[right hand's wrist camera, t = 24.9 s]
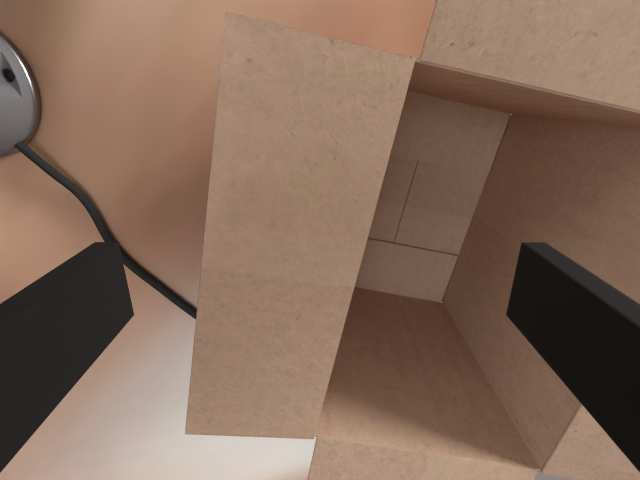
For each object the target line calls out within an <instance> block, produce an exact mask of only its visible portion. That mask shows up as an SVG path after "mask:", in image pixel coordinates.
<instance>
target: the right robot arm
mask: <svg viewBox="0 0 640 480" xmlns="http://www.w3.org/2000/svg"><path fill="white" fill-rule="evenodd" d="M40 117H41V98H40V93H39V88H38V85H37V82H36V79H35V77H34V74H33V72H32V70H31V68H30V66H29V65H28V63H27V61H26V60H25V58H24V57H23V55H22V54H21V52H20V51H19V50H18V49H17V47H16V46H15V45H14V44H13V43H12V42H11V41H10V40H9V39H8V38H7V37H6V36H5V35H3V34H2V33H1V32H0V157H3V156H7V155H11V154H13V153H16V152H18V151H21V152H22V153H23V154H24V155H25V156H27V157H28V158H29V159H30V160H31V161H33V162H34V163H35V164H36V165H37V166H39V167H40V168H41V169H42V170H43V171H45V172H46V173H47V174H48V175H50V176H51V177H52V178H53V179H55V180H56V181H57V182H59V183H60V184H62V185H63V186H64V187H66V188H67V189H68V190H69V191H71V192H72V193H73V194H74V195H75V196H76V197H77V198H78V199H79V201H80V202H81V203H82V204H83V205H84V207H85V208H86V210H87V211H88V213H89V214H90V216H91V218H92V219H93V221H94V223H95V225H96V227H97V229H98V231H99V233H100V234H101V236H102V238H103V240H104V241H105V242H95V243H93V244H92V245H90V246H89V247H87V248H86V249H84V250H82V251H81V252H79V253H78V254H76V255H75V256H73V257H72V258H70V259H69V260H67V261H66V262H64V263H63V264H61V265H59V266H58V267H56V268H55V269H53V270H52V271H50V272H49V273H47V274H46V275H44V276H43V277H41V278H40V279H38V280H36V281H35V282H33V283H32V284H30V285H29V286H27V287H26V288H24V289H23V290H21V291H20V292H18V293H17V294H15V295H13V296H12V297H10V298H9V299H7V300H6V301H4V302H3V303H1V304H0V472H1V471H2V470H3V469H4V468H5V466H6V465H7V464H8V463H9V462H10V461H11V459H12V458H13V457H14V456H15V455H16V453H17V452H18V451H19V450H20V449H21V448H22V446H23V445H24V444H25V443H26V442H27V440H28V439H29V438H30V437H31V436H32V435H33V433H34V432H35V431H36V430H37V429H38V428H39V426H40V425H41V424H42V423H43V422H44V420H45V419H46V418H47V417H48V416H49V415H50V413H51V412H52V411H53V410H54V409H55V407H56V406H57V405H58V404H59V403H60V402H61V400H62V399H63V398H64V397H65V396H66V394H67V393H68V392H69V391H70V390H71V389H72V387H73V386H74V385H75V384H76V383H77V382H78V380H79V379H80V378H81V377H82V376H83V374H84V373H85V372H86V371H87V370H88V369H89V367H90V366H91V365H92V364H93V363H94V361H95V360H96V359H97V358H98V357H99V356H100V354H101V353H102V352H103V351H104V350H105V349H106V347H107V346H108V345H109V344H110V343H111V341H112V340H113V339H114V338H115V337H116V336H117V334H118V333H119V332H120V331H121V330H122V328H123V327H124V326H125V325H126V324H127V323H128V321H129V320H130V319H131V318H132V317H133V315H134V313H133V308H132V303H131V298H130V294H129V289H128V284H127V280H126V275H125V270H124V266H123V264H125V265H126V266H127V267H128V268H129V269H130V270H131V271H132V272H134V273H135V274H136V275H138V276H139V277H140V278H141V279H143V280H144V281H145V282H147V283H148V284H149V285H151V286H152V287H153V288H155V289H156V290H157V291H159V292H160V293H161V294H163V295H164V296H165V297H166V298H168V299H169V300H170V301H172V302H173V303H174V304H176V305H177V306H178V307H180V308H181V309H182V310H184V311H185V312H186V313H188V314H189V315H191V316H192V317H193V318H195V319H196V315H197V311H196V310H194V309H193V308H192V307H190V306H189V305H188V304H186V303H185V302H184V301H182V300H181V299H180V298H178V297H177V296H176V295H174V294H173V293H172V292H171V291H169V290H168V289H167V288H165V287H164V286H163V285H162V284H160V283H159V282H158V281H156V280H155V279H154V278H152V277H151V276H150V275H148V274H147V273H146V272H145V271H143V270H142V269H141V268H139V267H138V266H137V265H136V264H135V263H134V262H133V261H131V260H130V259H129V258H128V257H127V256H126V255H125V254H124V253H123V251H122V250H121V249H120V247H119V242H114V240H113V239H112V237H111V235H110V234H109V232H108V230H107V228H106V226H105V224H104V222H103V220H102V218H101V217H100V215H99V213H98V211H97V210H96V208H95V207H94V205H93V204H92V202H91V201H90V200H89V198H88V197H87V196H86V195H85V194H84V193H83V192H82V191H81V190H80V189H79V188H78V187H77V186H76V185H75V184H74V183H72V182H71V181H70V180H68V179H67V178H66V177H64V176H63V175H62V174H60V173H59V172H58V171H57V170H55V169H54V168H53V167H52V166H50V165H49V164H48V163H47V162H46V161H44V160H43V159H42V158H41V157H40V156H39V155H37V154H36V153H35V152H34V151H33V150H31V149H30V148H29V147H28V146H27V144H28V143H29V142H30V141H31V140H32V138H33V137H34V135H35V133H36V131H37V129H38V126H39V123H40ZM506 315H507V317H508V318H509V319H510V320H511V321H512V323H513V324H514V325H515V326H516V327H517V328H518V330H519V331H520V332H521V333H522V334H523V336H524V337H525V338H526V339H527V340H528V341H529V343H530V344H531V345H532V346H533V347H534V349H535V350H536V351H537V352H538V353H539V354H540V356H541V357H542V358H543V359H544V360H545V361H546V363H547V364H548V365H549V366H550V367H551V369H552V370H553V371H554V372H555V373H556V374H557V376H558V377H559V378H560V379H561V380H562V382H563V383H564V384H565V385H566V386H567V387H568V389H569V390H570V391H571V392H572V393H573V394H574V396H575V397H576V398H577V399H578V400H579V402H580V403H581V404H582V405H583V406H584V407H585V409H586V410H587V411H588V412H589V413H590V415H591V416H592V417H593V418H594V419H595V420H596V422H597V423H598V424H599V425H600V426H601V428H602V429H603V430H604V431H605V432H606V433H607V435H608V436H609V437H610V438H611V439H612V440H613V442H614V443H615V444H616V445H617V446H618V448H619V449H620V450H621V451H622V452H623V453H624V455H625V456H626V457H627V458H628V459H629V461H630V462H631V463H632V464H633V465H634V466H635V468H636V469H637V470H638V471H639V472H640V304H639V303H637V302H636V301H634V300H633V299H631V298H630V297H628V296H627V295H625V294H623V293H622V292H620V291H619V290H617V289H616V288H614V287H613V286H611V285H610V284H608V283H607V282H605V281H604V280H602V279H600V278H599V277H597V276H596V275H594V274H593V273H591V272H590V271H588V270H587V269H585V268H584V267H582V266H581V265H579V264H577V263H576V262H574V261H573V260H571V259H570V258H568V257H567V256H565V255H564V254H562V253H561V252H559V251H558V250H556V249H554V248H553V247H551V246H550V245H548V244H547V243H545V242H521V247H520V251H519V256H518V261H517V265H516V270H515V275H514V280H513V284H512V289H511V294H510V298H509V303H508V308H507V313H506Z"/></svg>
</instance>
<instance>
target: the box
mask: <svg viewBox="0 0 640 480" xmlns="http://www.w3.org/2000/svg"><path fill="white" fill-rule="evenodd" d="M511 114H512V115H511ZM415 168H416V169H415ZM413 175H414V176H413ZM412 178H413V179H412ZM410 185H411V186H410ZM409 188H410V189H409ZM407 195H408V196H407ZM406 198H407V199H406ZM404 205H405V206H404ZM401 215H402V216H401ZM399 222H400V223H399ZM398 225H399V226H398ZM396 232H397V233H396ZM395 235H396V236H395ZM393 242H394V243H393ZM521 242H545V243H547V244H548V245H550V246H551V247H553V248H554V249H556V250H558V251H559V252H561V253H562V254H564V255H565V256H567V257H568V258H570V259H571V260H573V261H574V262H576V263H577V264H579V265H581V266H582V267H584V268H585V269H587V270H588V271H590V272H591V273H593V274H594V275H596V276H597V277H599V278H600V279H602V280H604V281H605V282H607V283H608V284H610V285H611V286H613V287H614V288H616V289H617V290H619V291H620V292H622V293H623V294H625V295H627V296H628V297H630V298H631V299H633V300H634V301H636V302H637V303H639V304H640V0H436V3H435V7H434V10H433V14H432V17H431V21H430V24H429V28H428V31H427V35H426V38H425V42H424V45H423V49H422V52H421V56H420V59H418V58H414V57H410V58H409V57H405V56H401V55H397V54H393V53H389V52H385V51H381V50H377V49H373V48H369V47H365V46H361V45H357V44H353V43H349V42H345V41H341V40H337V39H333V38H329V37H325V36H321V35H317V34H313V33H309V32H305V31H301V30H297V29H293V28H289V27H285V26H281V25H277V24H273V23H269V22H265V21H261V20H257V19H253V18H249V17H245V16H241V15H237V14H233V13H229V12H226V16H225V26H224V36H223V47H222V57H221V67H220V78H219V88H218V98H217V109H216V119H215V129H214V140H213V150H212V160H211V171H210V181H209V191H208V202H207V212H206V222H205V233H204V243H203V253H202V264H201V274H200V284H199V295H198V305H197V315H196V326H195V336H194V346H193V357H192V367H191V378H190V388H189V398H188V409H187V419H186V429H185V434H195V435H221V436H246V437H272V438H298V439H314V437H316V436H317V439H316V443H315V448H314V453H313V457H312V462H311V466H310V471H309V476H308V480H535V477H536V474H537V471H538V470H539V471H540V472H541V473H542V474H547V475H552V476H558V477H563V478H568V479H573V480H640V472H639V471H638V470H637V469H636V468H635V466H634V465H633V464H632V463H631V462H630V461H629V459H628V458H627V457H626V456H625V455H624V453H623V452H622V451H621V450H620V449H619V448H618V446H617V445H616V444H615V443H614V442H613V440H612V439H611V438H610V437H609V436H608V435H607V433H606V432H605V431H604V430H603V429H602V428H601V426H600V425H599V424H598V423H597V422H596V420H595V419H594V418H593V417H592V416H591V415H590V413H589V412H588V411H587V410H586V409H585V407H584V406H583V405H582V404H581V403H580V402H579V400H578V399H577V398H576V397H575V396H574V394H573V393H572V392H571V391H570V390H569V389H568V387H567V386H566V385H565V384H564V383H563V382H562V380H561V379H560V378H559V377H558V376H557V374H556V373H555V372H554V371H553V370H552V369H551V367H550V366H549V365H548V364H547V363H546V361H545V360H544V359H543V358H542V357H541V356H540V354H539V353H538V352H537V351H536V350H535V349H534V347H533V346H532V345H531V344H530V343H529V341H528V340H527V339H526V338H525V337H524V336H523V334H522V333H521V332H520V331H519V330H518V328H517V327H516V326H515V325H514V324H513V323H512V321H511V320H510V319H509V318H508V317H507V315H506V313H507V308H508V303H509V298H510V294H511V289H512V284H513V280H514V275H515V270H516V265H517V261H518V256H519V251H520V247H521ZM441 301H442V302H443V303H441Z"/></svg>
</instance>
